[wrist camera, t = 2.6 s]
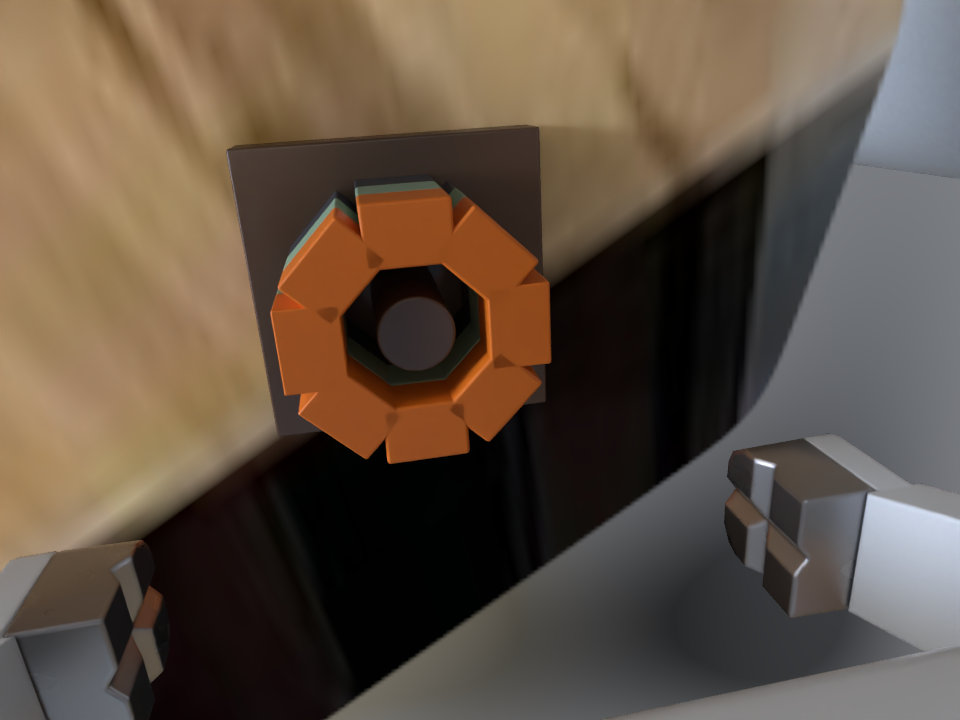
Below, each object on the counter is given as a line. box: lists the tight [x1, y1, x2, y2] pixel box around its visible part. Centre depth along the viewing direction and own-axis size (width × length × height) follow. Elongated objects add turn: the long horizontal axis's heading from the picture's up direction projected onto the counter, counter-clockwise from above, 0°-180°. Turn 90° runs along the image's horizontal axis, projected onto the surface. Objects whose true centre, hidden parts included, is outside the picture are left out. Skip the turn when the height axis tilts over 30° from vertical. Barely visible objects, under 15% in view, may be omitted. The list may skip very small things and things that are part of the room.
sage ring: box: [276, 181, 480, 386], centre depth 20 cm, size 7×7×2 cm
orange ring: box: [270, 188, 551, 464], centre depth 18 cm, size 7×7×2 cm
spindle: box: [226, 125, 546, 437], centre depth 20 cm, size 9×9×6 cm
